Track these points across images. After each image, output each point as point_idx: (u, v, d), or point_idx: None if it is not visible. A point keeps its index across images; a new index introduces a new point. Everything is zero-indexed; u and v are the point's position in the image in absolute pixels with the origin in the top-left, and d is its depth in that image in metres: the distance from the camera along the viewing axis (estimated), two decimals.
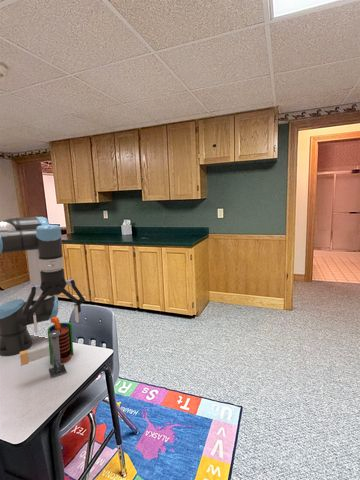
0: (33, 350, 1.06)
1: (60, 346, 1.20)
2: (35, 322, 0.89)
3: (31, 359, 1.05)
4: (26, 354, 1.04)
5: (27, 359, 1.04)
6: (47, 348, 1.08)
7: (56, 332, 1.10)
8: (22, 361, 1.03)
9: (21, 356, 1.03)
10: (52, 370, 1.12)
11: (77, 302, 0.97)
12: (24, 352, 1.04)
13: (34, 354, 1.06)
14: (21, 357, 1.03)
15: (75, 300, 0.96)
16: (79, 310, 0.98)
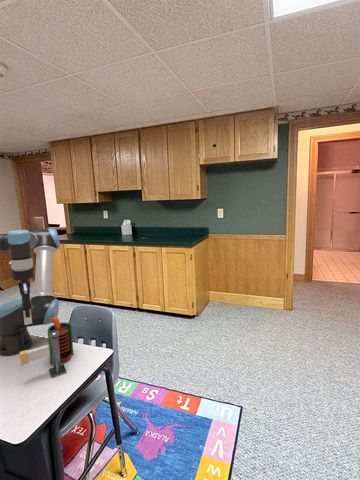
0: (33, 350, 1.06)
1: (60, 346, 1.20)
2: (23, 315, 1.08)
3: (31, 359, 1.05)
4: (26, 354, 1.04)
5: (27, 359, 1.04)
6: (47, 348, 1.08)
7: (56, 332, 1.10)
8: (22, 361, 1.03)
9: (21, 356, 1.03)
10: (52, 370, 1.12)
11: (23, 307, 1.06)
12: (24, 352, 1.04)
13: (34, 354, 1.06)
14: (21, 357, 1.03)
15: None
16: (25, 315, 1.07)
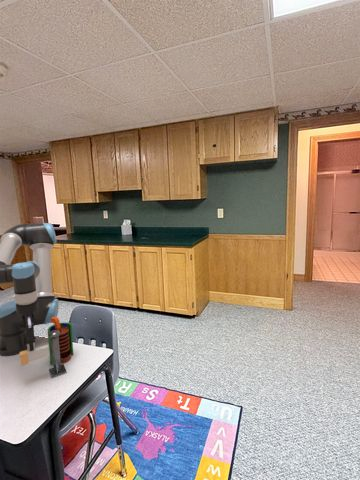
0: (33, 350, 1.06)
1: (60, 346, 1.20)
2: (27, 348, 1.06)
3: (31, 359, 1.05)
4: (26, 354, 1.04)
5: (27, 359, 1.04)
6: (47, 348, 1.08)
7: (56, 332, 1.10)
8: (22, 361, 1.03)
9: (21, 356, 1.03)
10: (52, 370, 1.12)
11: (27, 340, 1.05)
12: (24, 352, 1.04)
13: (34, 354, 1.05)
14: (21, 357, 1.03)
15: None
16: (29, 348, 1.05)
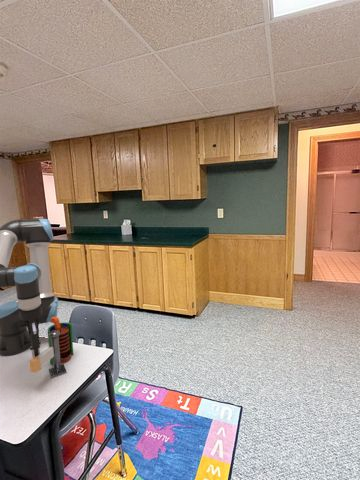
0: (42, 355, 1.03)
1: (60, 346, 1.20)
2: (32, 354, 1.02)
3: (42, 363, 1.02)
4: (39, 359, 1.00)
5: (39, 364, 1.01)
6: (52, 349, 1.07)
7: (56, 332, 1.10)
8: (36, 368, 0.99)
9: (35, 363, 0.98)
10: (52, 370, 1.12)
11: (31, 346, 1.01)
12: (35, 359, 1.00)
13: (43, 358, 1.03)
14: (36, 364, 0.98)
15: (31, 343, 1.01)
16: (34, 354, 1.02)
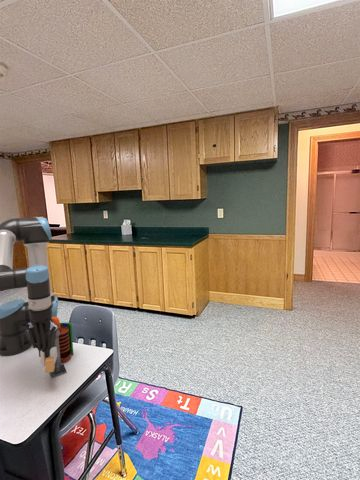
0: (52, 354, 1.03)
1: (60, 346, 1.20)
2: (41, 357, 1.00)
3: (54, 362, 1.03)
4: (53, 358, 1.01)
5: (54, 363, 1.01)
6: (56, 348, 1.08)
7: (56, 332, 1.10)
8: (53, 366, 1.00)
9: (52, 361, 0.99)
10: None
11: (44, 348, 1.00)
12: (50, 358, 1.00)
13: (54, 357, 1.03)
14: (52, 362, 0.99)
15: (44, 345, 0.99)
16: (46, 356, 1.01)
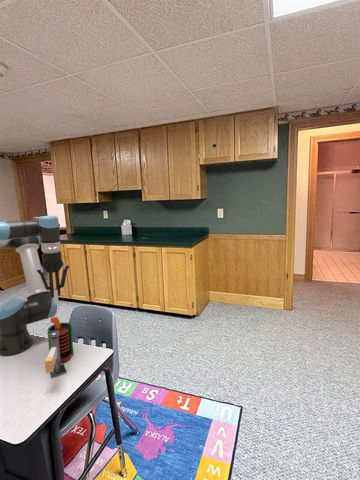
0: (52, 354, 1.03)
1: (60, 346, 1.20)
2: (55, 296, 1.15)
3: (54, 362, 1.03)
4: (53, 358, 1.01)
5: (53, 363, 1.01)
6: (56, 348, 1.08)
7: (56, 332, 1.10)
8: (53, 366, 1.00)
9: (52, 361, 0.99)
10: None
11: (58, 286, 1.16)
12: (50, 358, 1.00)
13: (54, 357, 1.03)
14: (52, 362, 0.99)
15: (58, 284, 1.15)
16: (59, 294, 1.17)
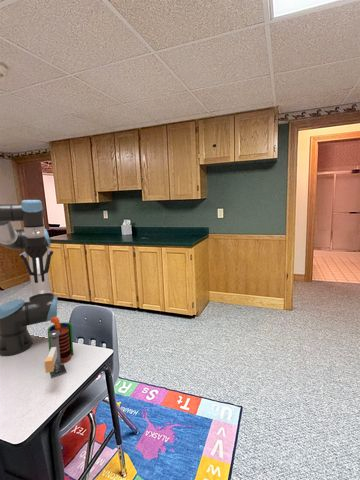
0: (52, 354, 1.03)
1: (60, 346, 1.20)
2: (39, 281, 1.14)
3: (54, 362, 1.03)
4: (53, 358, 1.01)
5: (53, 363, 1.01)
6: (56, 348, 1.08)
7: (56, 332, 1.10)
8: (53, 366, 1.00)
9: (52, 361, 0.99)
10: None
11: (42, 272, 1.14)
12: (50, 358, 1.00)
13: (54, 357, 1.03)
14: (52, 362, 0.99)
15: (42, 269, 1.14)
16: (43, 279, 1.15)
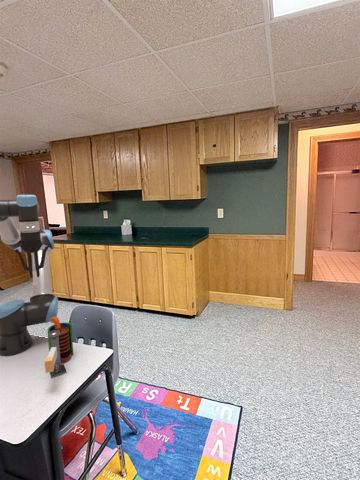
0: (52, 354, 1.03)
1: (60, 346, 1.20)
2: (34, 276, 1.13)
3: (54, 362, 1.03)
4: (53, 358, 1.01)
5: (53, 363, 1.01)
6: (56, 348, 1.08)
7: (56, 332, 1.10)
8: (53, 366, 1.00)
9: (52, 361, 0.99)
10: None
11: (37, 267, 1.14)
12: (50, 358, 1.00)
13: (54, 357, 1.03)
14: (52, 362, 0.99)
15: (37, 264, 1.14)
16: (38, 275, 1.15)
